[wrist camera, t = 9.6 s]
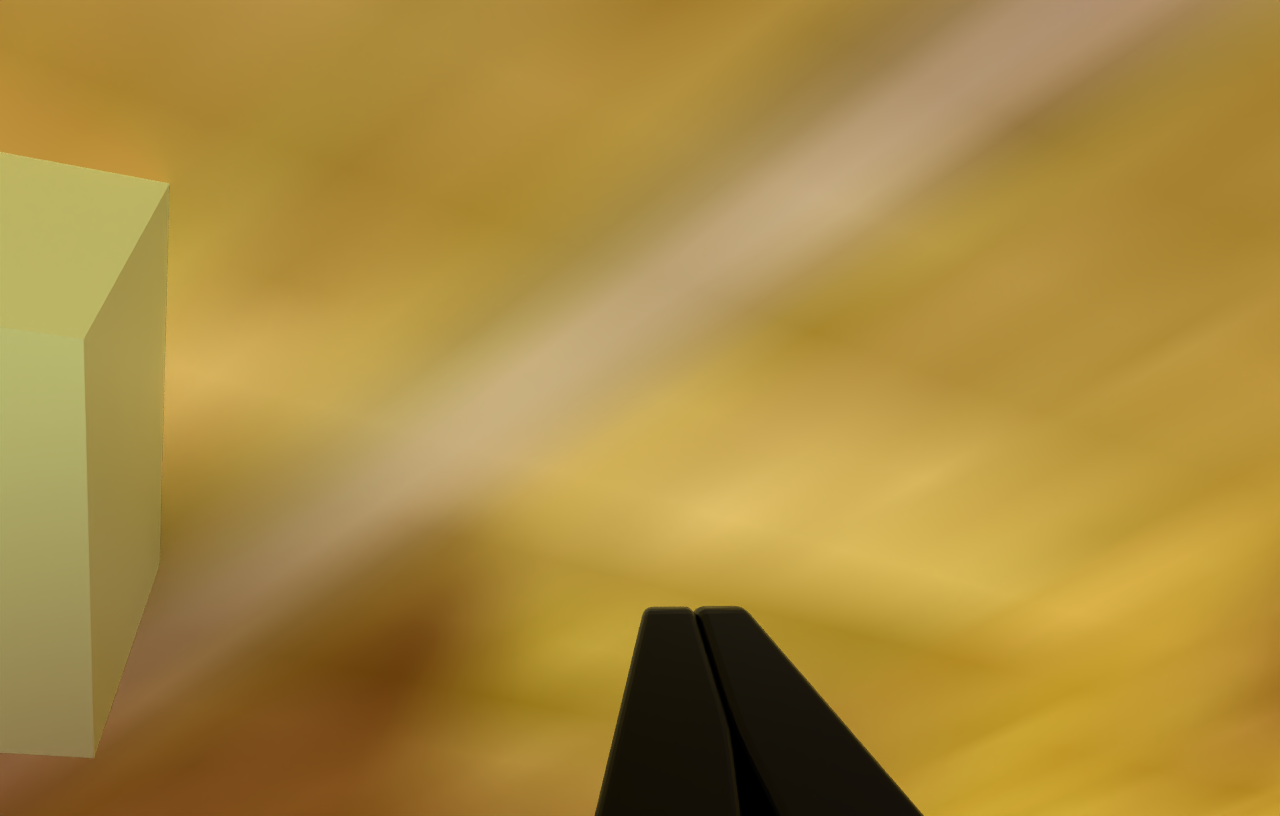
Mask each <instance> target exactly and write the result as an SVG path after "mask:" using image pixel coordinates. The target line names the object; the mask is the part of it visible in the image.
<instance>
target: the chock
mask: <svg viewBox="0 0 1280 816" xmlns="http://www.w3.org/2000/svg"><path fill="white" fill-rule="evenodd" d="M169 190H170V183H165V182H159V181H154V180H149V179H143V178H138V177H132V176H127V175H122V174H116V173H111V172H106V171H100V170H95V169H89V168H84V167H79V166H73V165H68V164H62V163H57V162H52V161H46V160H41V159H35V158H30V157H25V156H19V155H14V154H9V153H3V152H0V753H11V754H29V755H46V756H64V757H82V758H94V757H95V754H96V751H97V748H98V745H99V742H100V739H101V736H102V733H103V730H104V727H105V724H106V721H107V719H108V716H109V713H110V710H111V707H112V704H113V701H114V698H115V695H116V692H117V689H118V686H119V683H120V680H121V677H122V674H123V671H124V668H125V665H126V662H127V659H128V656H129V653H130V651H131V648H132V645H133V642H134V639H135V636H136V633H137V630H138V627H139V624H140V621H141V618H142V615H143V612H144V609H145V606H146V603H147V600H148V597H149V594H150V591H151V588H152V585H153V582H154V580H155V577H156V574H157V571H158V568H159V565H160V538H161V500H162V461H163V422H164V383H165V345H166V306H167V267H168V229H169Z"/></svg>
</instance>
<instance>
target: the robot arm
mask: <svg viewBox="0 0 1280 816" xmlns="http://www.w3.org/2000/svg"><path fill="white" fill-rule="evenodd" d="M595 816H924V815H923V814H922V813H921V812H920V811H919V810H918V808H917V807H916V806H915V805H914V804H913V803H912V802H911V800H910V799H909V798H908V797H907V796H906V795H905V793H904V792H903V791H902V790H901V789H900V788H899V786H898V785H897V784H896V783H895V782H894V781H893V779H892V778H891V777H890V776H889V775H888V774H887V773H886V771H885V770H884V769H883V768H882V767H881V766H880V764H879V763H878V762H877V761H876V760H875V759H874V757H873V756H872V755H871V754H870V753H869V752H868V750H867V749H866V748H865V747H864V746H863V745H862V744H861V742H860V741H859V740H858V739H857V738H856V737H855V735H854V734H853V733H852V732H851V731H850V730H849V728H848V727H847V726H846V725H845V724H844V723H843V721H842V720H841V719H840V718H839V717H838V716H837V714H836V713H835V712H834V711H833V710H832V709H831V708H830V706H829V705H828V704H827V703H826V702H825V701H824V699H823V698H822V697H821V696H820V695H819V694H818V692H817V691H816V690H815V689H814V688H813V687H812V685H811V684H810V683H809V682H808V681H807V680H806V679H805V677H804V676H803V675H802V674H801V673H800V672H799V670H798V669H797V668H796V667H795V666H794V665H793V663H792V662H791V661H790V660H789V659H788V658H787V656H786V655H785V654H784V653H783V652H782V651H781V649H780V648H779V647H778V646H777V645H776V644H775V643H774V641H773V640H772V639H771V638H770V637H769V636H768V634H767V633H766V632H765V631H764V630H763V629H762V627H761V626H760V625H759V624H758V623H757V622H756V620H755V619H754V618H753V617H752V616H751V615H750V614H749V613H748V612H747V611H746V610H745V609H743V608H741V607H738V606H702V607H699V608H697V609H696V610H695V611H694V612H693V611H692V610H691V609H690V608H688V607H649V608H647V609H646V610H645V611H644V613H643V615H642V619H641V623H640V627H639V632H638V636H637V640H636V644H635V648H634V652H633V657H632V661H631V665H630V669H629V673H628V678H627V682H626V686H625V690H624V694H623V699H622V703H621V707H620V711H619V715H618V720H617V724H616V728H615V732H614V736H613V741H612V745H611V749H610V753H609V757H608V762H607V766H606V770H605V774H604V778H603V783H602V787H601V791H600V795H599V799H598V804H597V808H596V812H595Z"/></svg>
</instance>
